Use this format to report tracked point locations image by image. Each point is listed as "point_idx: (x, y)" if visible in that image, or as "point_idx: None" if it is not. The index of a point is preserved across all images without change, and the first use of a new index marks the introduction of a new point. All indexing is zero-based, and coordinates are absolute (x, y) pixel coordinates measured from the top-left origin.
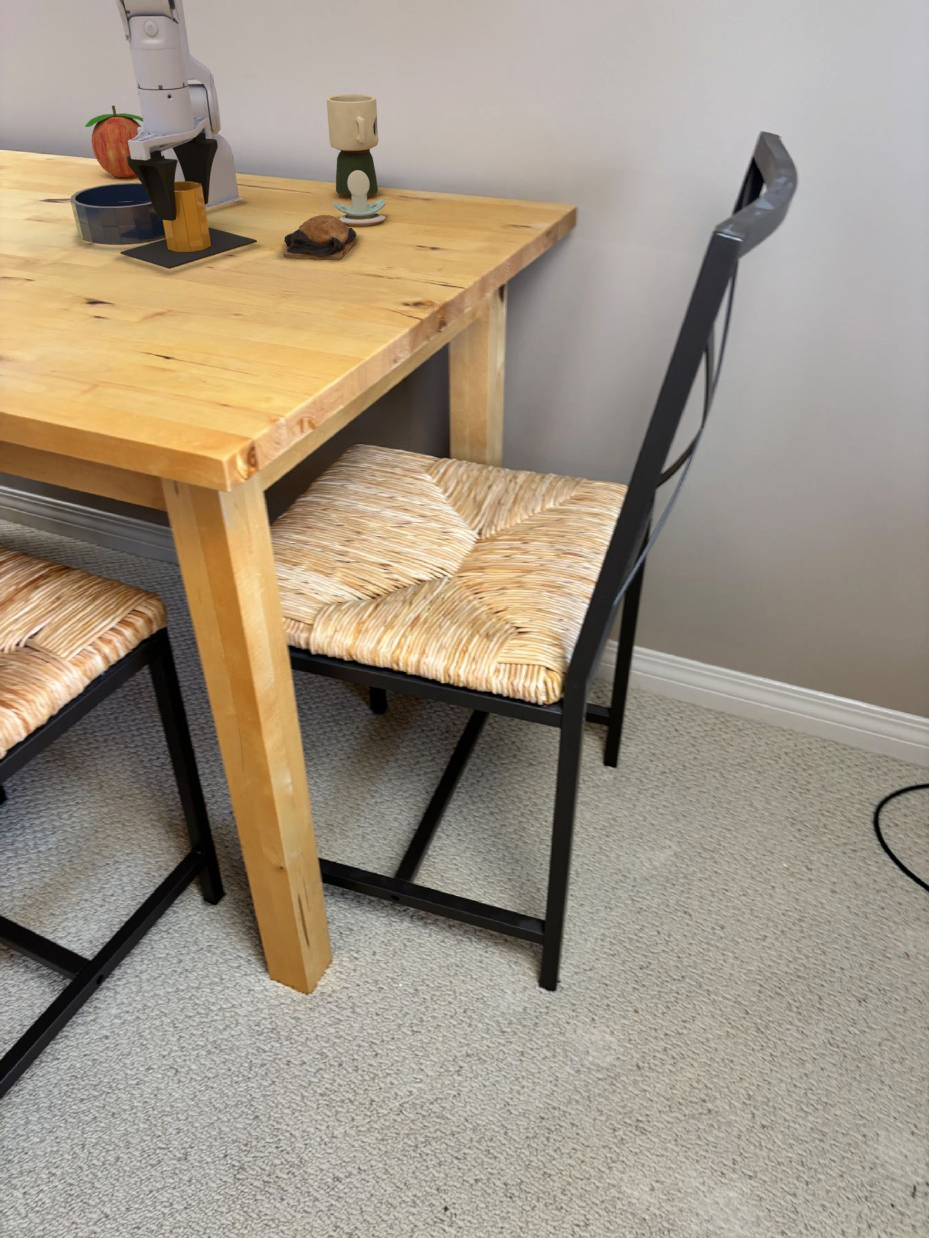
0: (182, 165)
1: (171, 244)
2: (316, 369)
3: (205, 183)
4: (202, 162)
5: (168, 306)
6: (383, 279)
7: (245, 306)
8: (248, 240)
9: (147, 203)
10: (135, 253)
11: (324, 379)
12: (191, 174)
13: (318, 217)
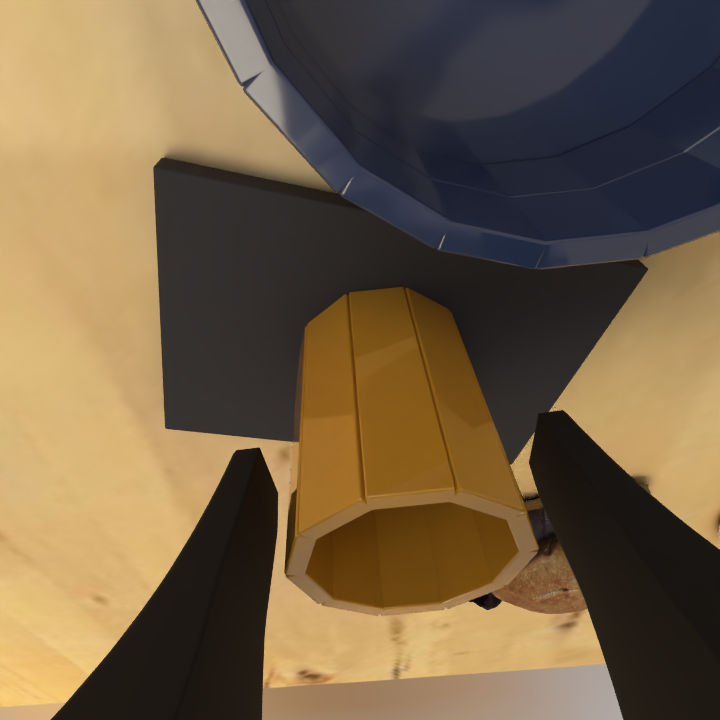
0: (648, 580)
1: (300, 362)
2: (53, 691)
3: (569, 557)
4: (622, 672)
5: (11, 523)
6: (386, 636)
7: (140, 591)
8: None
9: (457, 239)
10: (184, 251)
11: (42, 700)
12: (605, 556)
13: (567, 602)
